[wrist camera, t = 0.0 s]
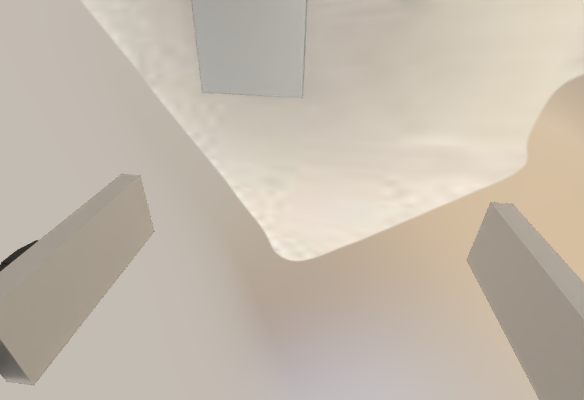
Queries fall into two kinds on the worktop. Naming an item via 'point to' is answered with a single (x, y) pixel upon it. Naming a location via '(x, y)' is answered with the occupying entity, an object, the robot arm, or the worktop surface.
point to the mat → (251, 46)
